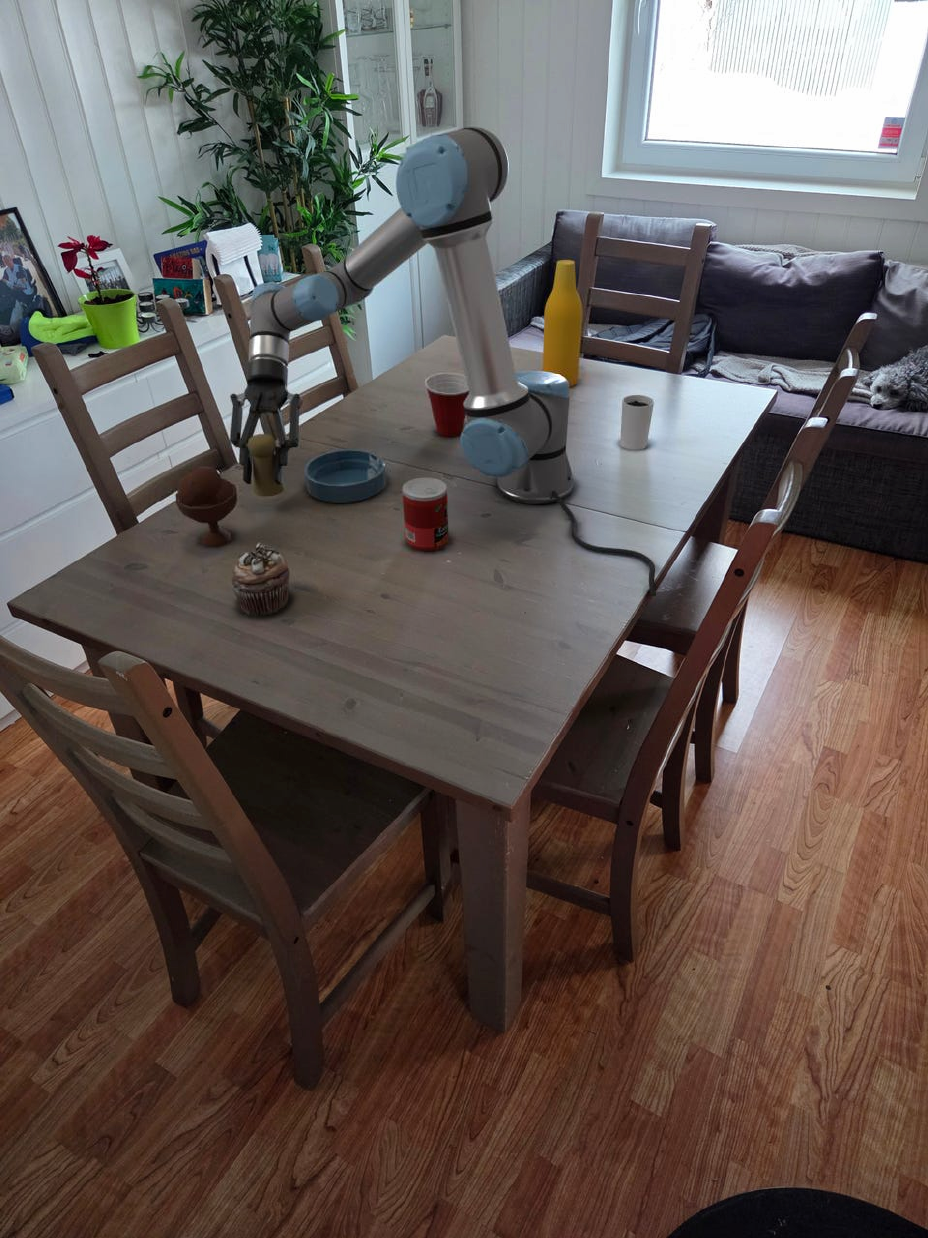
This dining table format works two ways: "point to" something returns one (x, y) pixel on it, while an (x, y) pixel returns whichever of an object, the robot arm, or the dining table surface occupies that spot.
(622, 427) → the white coffee cup
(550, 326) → the beer bottle
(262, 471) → the olive game pawn
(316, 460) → the bowl
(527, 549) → the dining table surface
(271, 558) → the cupcake
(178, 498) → the ice cream bowl
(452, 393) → the plastic cup
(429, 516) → the canned food
